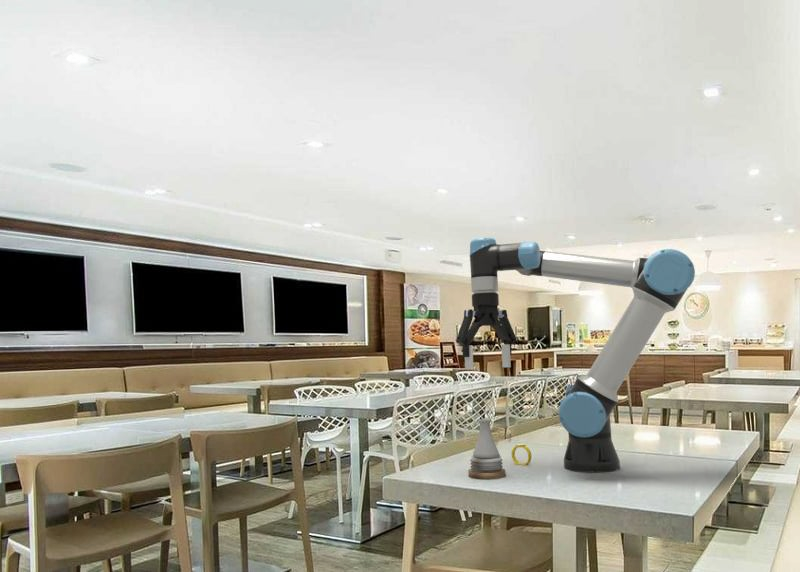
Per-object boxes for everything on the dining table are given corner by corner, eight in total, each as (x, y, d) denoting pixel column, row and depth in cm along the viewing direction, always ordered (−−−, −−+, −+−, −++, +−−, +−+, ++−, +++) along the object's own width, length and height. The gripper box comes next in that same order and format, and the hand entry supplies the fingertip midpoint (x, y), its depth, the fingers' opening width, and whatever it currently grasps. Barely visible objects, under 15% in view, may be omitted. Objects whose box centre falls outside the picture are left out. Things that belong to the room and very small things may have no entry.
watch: (511, 465, 191) (508, 445, 192) (516, 464, 194) (513, 443, 194) (529, 465, 188) (526, 444, 189) (533, 464, 190) (531, 443, 191)
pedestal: (511, 473, 177) (510, 455, 177) (496, 480, 168) (495, 461, 169) (478, 471, 182) (477, 453, 182) (462, 477, 173) (461, 458, 174)
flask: (491, 454, 180) (489, 417, 181) (504, 457, 174) (503, 419, 175) (468, 456, 178) (466, 419, 179) (481, 460, 171) (479, 421, 172)
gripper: (508, 295, 193) (512, 366, 191) (441, 293, 180) (444, 370, 178) (526, 292, 187) (530, 366, 185) (458, 290, 174) (461, 370, 171)
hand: (488, 368), depth 181 cm, fingers open, 13 cm apart
